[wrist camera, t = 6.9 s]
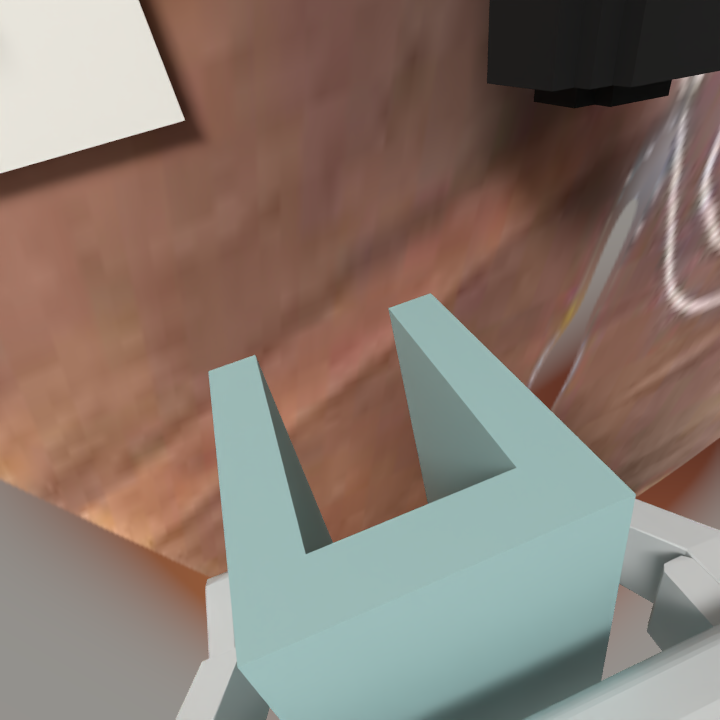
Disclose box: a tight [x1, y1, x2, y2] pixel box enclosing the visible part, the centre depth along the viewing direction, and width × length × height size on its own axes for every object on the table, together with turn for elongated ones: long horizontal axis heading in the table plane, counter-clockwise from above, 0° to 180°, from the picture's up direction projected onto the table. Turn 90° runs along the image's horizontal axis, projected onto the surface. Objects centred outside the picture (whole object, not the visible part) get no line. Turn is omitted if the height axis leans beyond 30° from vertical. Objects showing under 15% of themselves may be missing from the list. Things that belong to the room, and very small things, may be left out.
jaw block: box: [209, 293, 636, 720], centre depth 10 cm, size 5×8×6 cm, turn 13°
